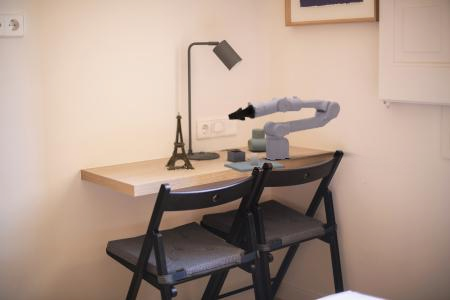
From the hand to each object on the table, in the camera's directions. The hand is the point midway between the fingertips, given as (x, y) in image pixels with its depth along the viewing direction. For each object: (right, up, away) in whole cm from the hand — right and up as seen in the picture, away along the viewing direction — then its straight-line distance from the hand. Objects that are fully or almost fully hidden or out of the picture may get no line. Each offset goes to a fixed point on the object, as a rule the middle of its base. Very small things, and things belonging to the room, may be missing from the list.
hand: (232, 116), depth 277 cm
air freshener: (+12, -15, +33) cm, 38 cm away
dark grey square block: (+2, -19, +7) cm, 20 cm away
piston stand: (+9, -21, -6) cm, 23 cm away
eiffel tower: (-21, -21, -7) cm, 31 cm away
